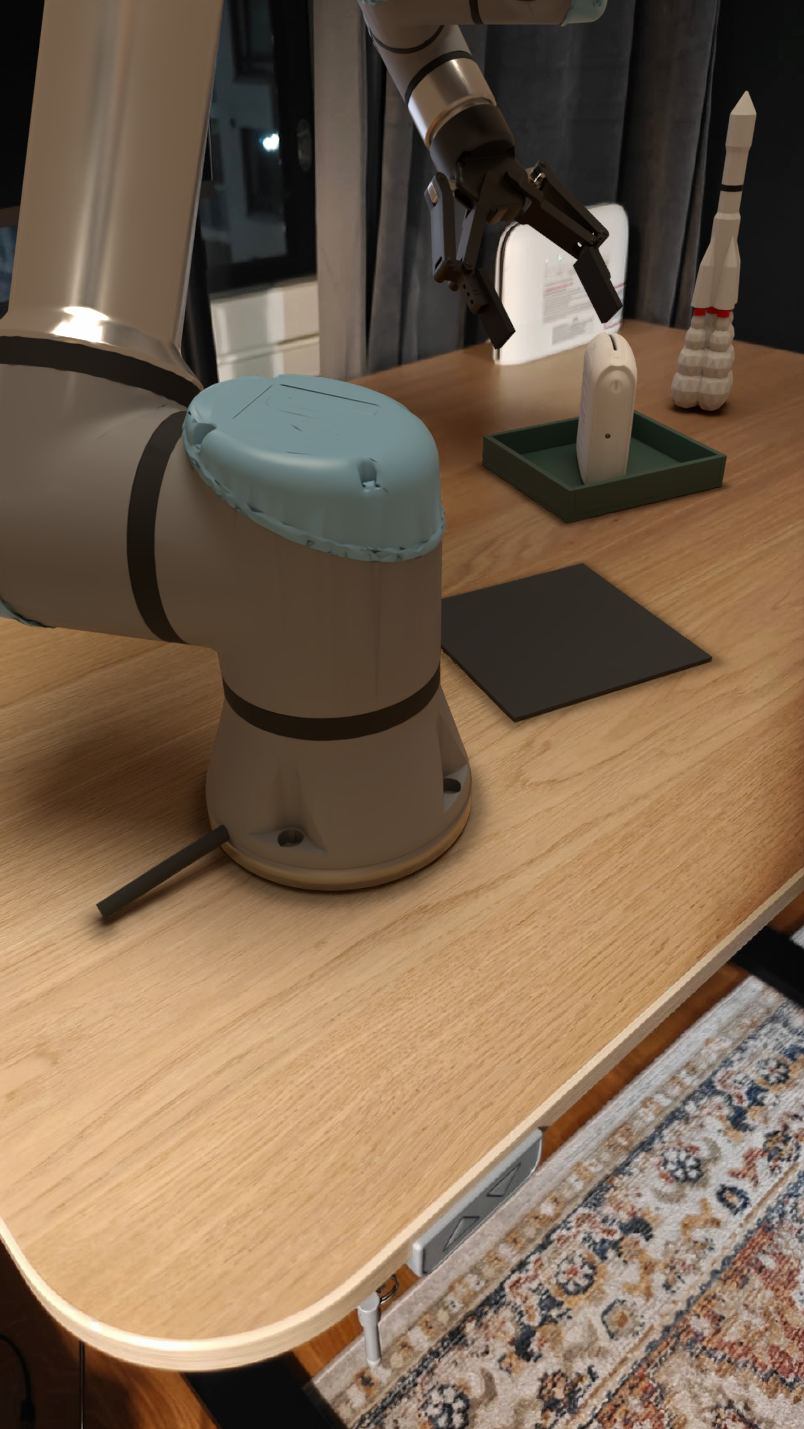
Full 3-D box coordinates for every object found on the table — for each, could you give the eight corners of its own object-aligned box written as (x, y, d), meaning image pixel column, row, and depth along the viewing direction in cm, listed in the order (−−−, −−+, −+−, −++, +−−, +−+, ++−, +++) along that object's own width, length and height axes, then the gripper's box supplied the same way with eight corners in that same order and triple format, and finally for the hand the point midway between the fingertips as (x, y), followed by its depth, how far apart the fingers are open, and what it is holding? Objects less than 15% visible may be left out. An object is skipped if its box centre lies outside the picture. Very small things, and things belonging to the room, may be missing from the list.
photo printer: (628, 492, 93) (645, 354, 86) (581, 491, 94) (594, 354, 86) (616, 450, 102) (630, 322, 94) (572, 450, 102) (583, 322, 95)
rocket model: (652, 401, 115) (691, 90, 97) (706, 391, 117) (754, 86, 100) (691, 421, 109) (740, 96, 92) (747, 411, 112) (805, 91, 94)
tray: (567, 523, 89) (569, 491, 88) (481, 464, 101) (482, 435, 99) (722, 486, 95) (727, 455, 94) (625, 434, 106) (628, 406, 105)
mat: (514, 721, 65) (514, 718, 65) (405, 611, 77) (405, 608, 77) (711, 660, 71) (712, 656, 71) (582, 566, 83) (582, 562, 83)
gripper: (540, 147, 105) (630, 327, 104) (338, 172, 94) (437, 375, 93) (580, 90, 99) (677, 282, 98) (369, 109, 87) (476, 327, 86)
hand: (560, 328), depth 95 cm, fingers open, 13 cm apart
